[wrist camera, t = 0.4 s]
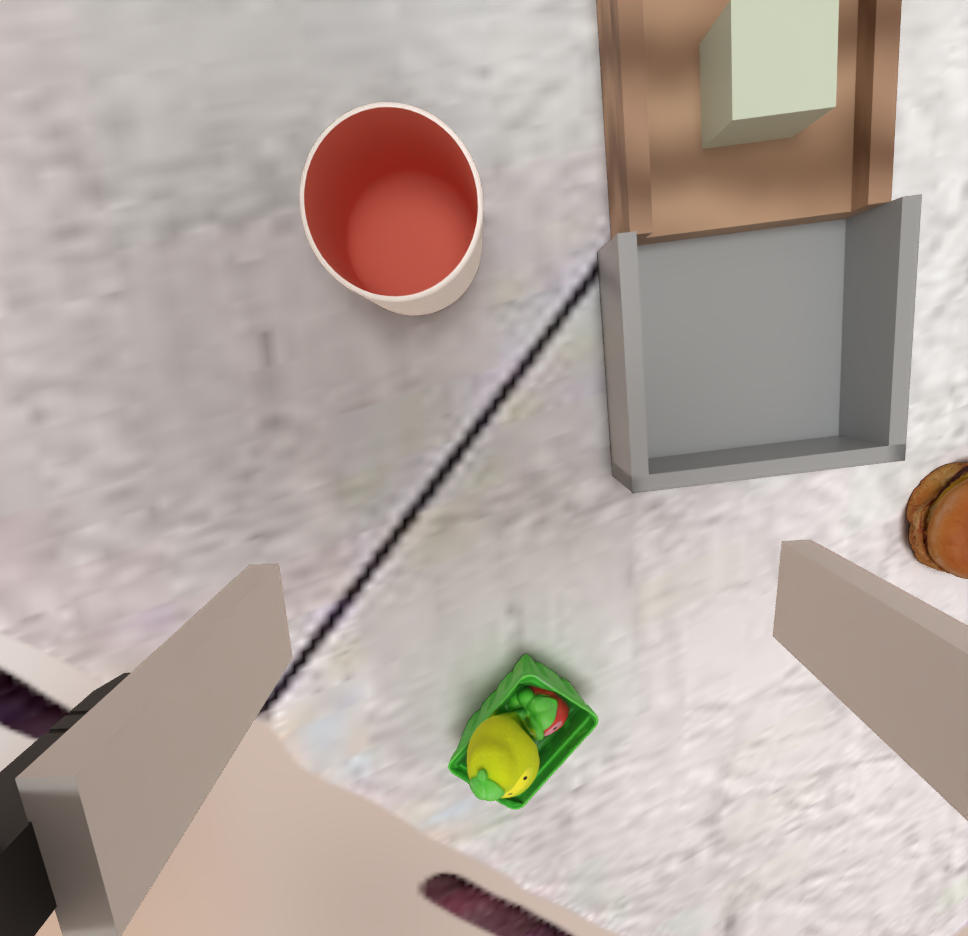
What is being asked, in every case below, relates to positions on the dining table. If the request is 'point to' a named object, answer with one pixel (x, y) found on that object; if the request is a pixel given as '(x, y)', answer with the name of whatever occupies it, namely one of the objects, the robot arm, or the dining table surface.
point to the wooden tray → (744, 167)
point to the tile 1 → (767, 70)
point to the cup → (394, 207)
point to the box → (760, 349)
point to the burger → (941, 519)
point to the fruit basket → (521, 735)
